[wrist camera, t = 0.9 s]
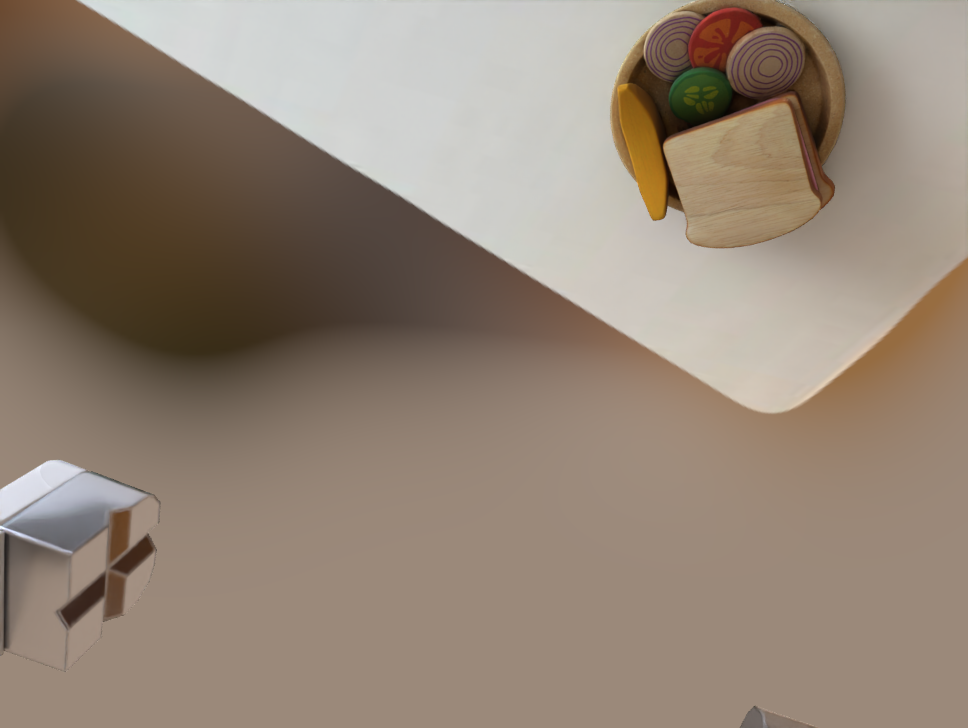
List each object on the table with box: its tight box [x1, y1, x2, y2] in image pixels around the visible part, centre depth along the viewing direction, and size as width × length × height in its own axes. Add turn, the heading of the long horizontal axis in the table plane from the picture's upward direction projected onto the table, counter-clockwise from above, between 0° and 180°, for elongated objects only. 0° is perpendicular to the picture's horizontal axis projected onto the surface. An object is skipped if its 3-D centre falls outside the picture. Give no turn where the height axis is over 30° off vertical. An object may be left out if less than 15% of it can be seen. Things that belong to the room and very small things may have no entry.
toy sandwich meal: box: [610, 0, 845, 248], centre depth 43 cm, size 12×14×5 cm
